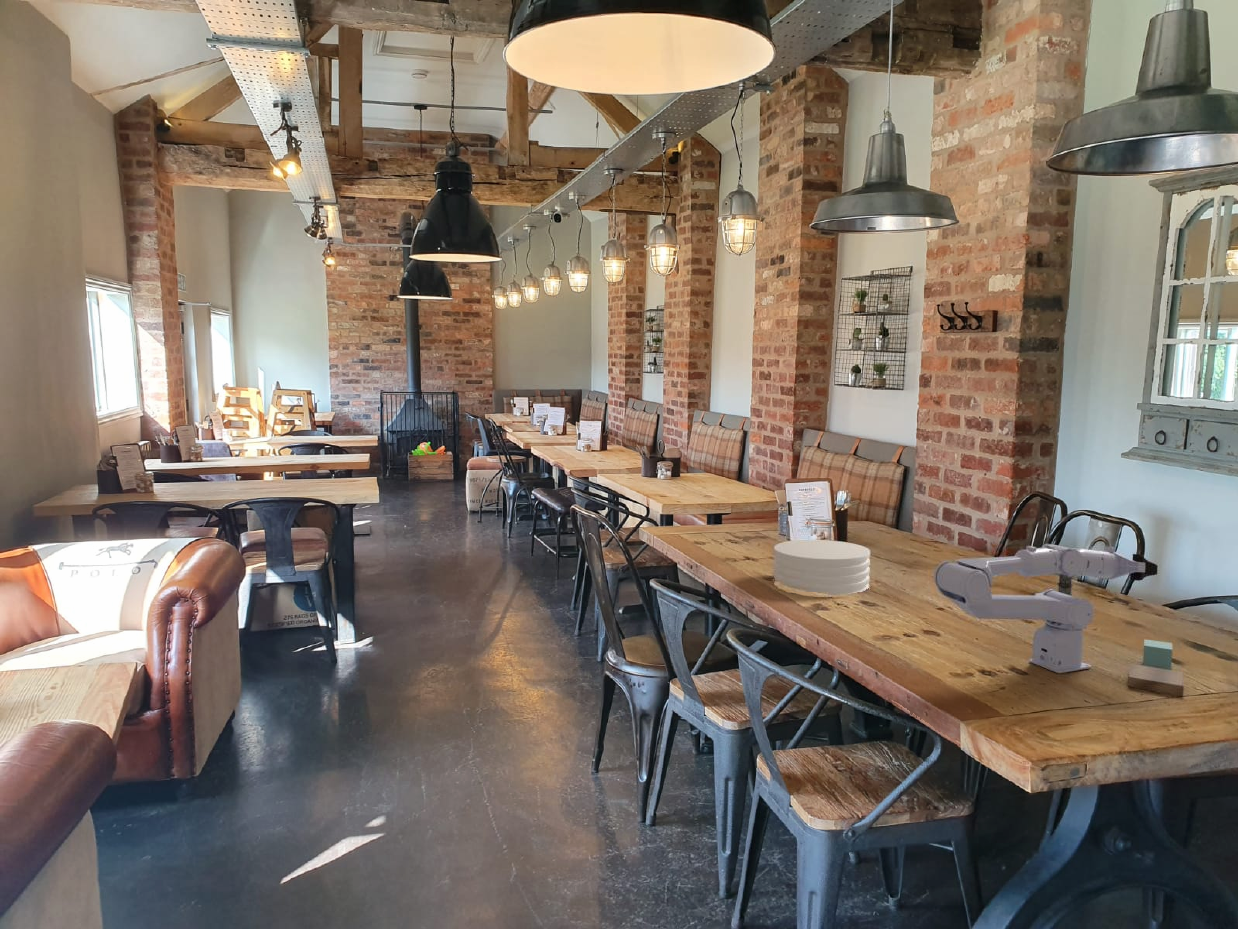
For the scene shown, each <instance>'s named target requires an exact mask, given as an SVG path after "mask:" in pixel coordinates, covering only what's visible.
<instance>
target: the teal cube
mask: <svg viewBox="0 0 1238 929" xmlns="http://www.w3.org/2000/svg"><path fill="white" fill-rule="evenodd" d="M1143 640H1144V641H1143V657H1142V658H1143V659H1142V666H1148V667H1154V668H1160V669H1166V670H1172V661H1173V643H1172V642H1166V641H1160V640H1159V641H1158V640H1153V639H1145V638H1144V639H1143Z"/></svg>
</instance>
